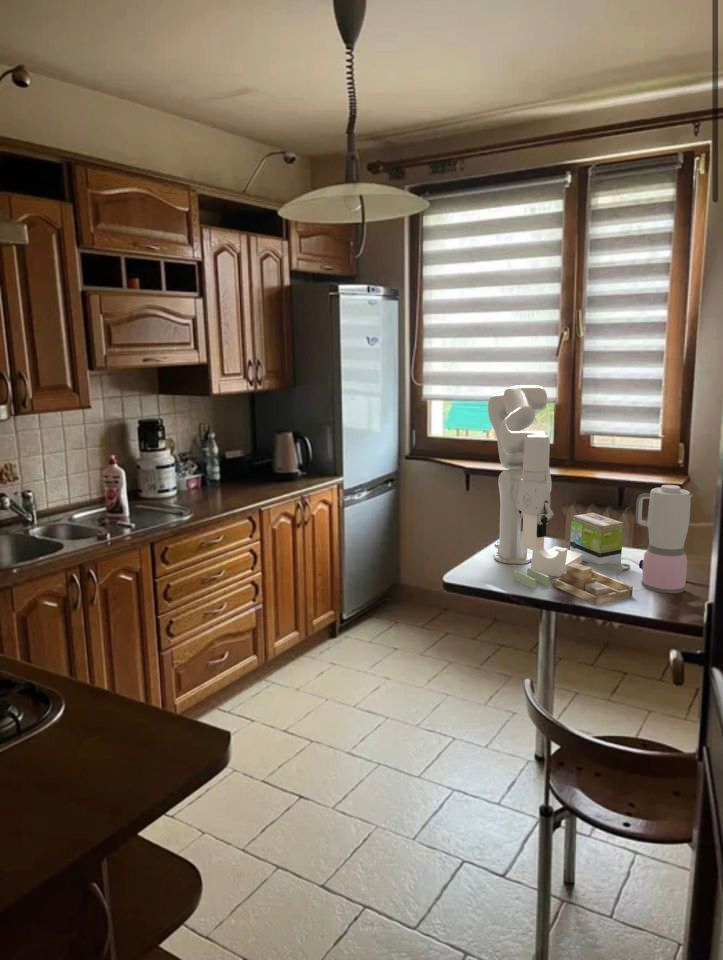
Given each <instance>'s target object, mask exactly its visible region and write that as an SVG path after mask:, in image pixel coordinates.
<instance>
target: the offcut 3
mask: <svg viewBox="0 0 723 960" xmlns="http://www.w3.org/2000/svg"><path fill="white" fill-rule="evenodd" d="M585 591H586V592H588V593H590V594H592V595H595V596H600V595H604V594H608V588H607V587H605V586H603V585H601V584H599V583H591V584H586V586H585Z"/></svg>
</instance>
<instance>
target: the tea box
mask: <svg viewBox="0 0 723 960" xmlns="http://www.w3.org/2000/svg"><path fill="white" fill-rule="evenodd" d="M570 523H571V524H570V539H569V540H570V541H569V550H571V551H574V552H577V553H581V554H583V558H582V562H586V563H594V564H597V565H603V564H610V565H613V566H615V565H618V564H621V563H622V550H623V537H624V522H623V521H619V520H616V519H614V518H610V517H607V516H604V515H601V514H599V513H595V512H589V513H588V512H587V513H583V514H577V515H571V520H570Z"/></svg>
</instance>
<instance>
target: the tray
mask: <svg viewBox="0 0 723 960" xmlns="http://www.w3.org/2000/svg"><path fill="white" fill-rule="evenodd" d="M591 578H593V579H595V583H599V584H601V585H603V586H605V587H607V588H608V594H604V595H600V596H595V595H592V594H590V593H588V592H586V591H583V590H581V589H579V588H576V587H574V586H572V585H569V584H567V583H565V582H562V576H560V577H556V578H552V586H553V587H555V588H558V589H560V590H562V591H565V592H567V593H569V594H571V595H573V596H576V597H577V598H579V599H582V600H585V601H586V602H589V603H591V604H593V605H601V604H604V603H609V602H613V601H614V602H615V601H618V600H622V599H623V600H624V599H626V598H630V597H633V588H634V587H633V585H630V584H628V583H626V582H624V581H623V582H622V581H620V580H618V579H615V578H612V577H610V576H608V575H604V574H602V573H599V572H597V571H595V570H592V575H591Z"/></svg>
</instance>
